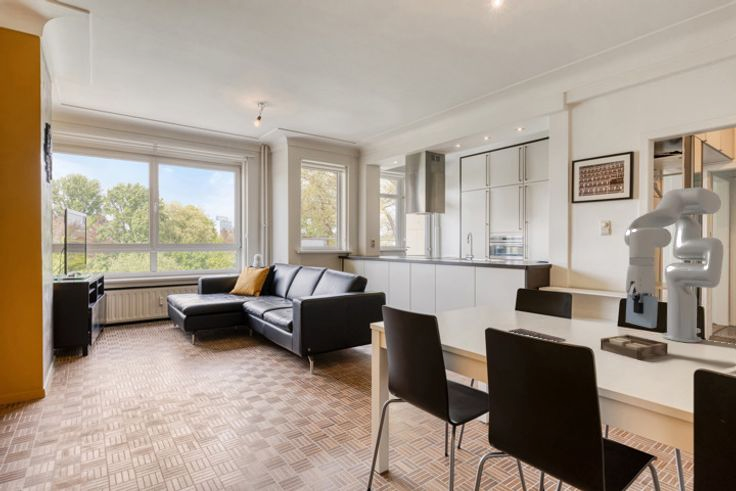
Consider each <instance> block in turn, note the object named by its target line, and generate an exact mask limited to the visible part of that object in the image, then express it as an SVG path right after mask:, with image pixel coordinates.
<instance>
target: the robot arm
mask: <svg viewBox="0 0 736 491" xmlns="http://www.w3.org/2000/svg"><path fill="white" fill-rule="evenodd" d="M721 201H722V200H721V198H720V196H719V194H717V193H716V192H714V191H712V190H710V189H708V188H704V187H699V186H698V187H688V188H677V189H672V190H668V191H667V192H665V193H664V195H663V196H662V197H661V199H660V200H659V202H658V203H657V205H656V206H655V208H654V209H653V210H651V211H649V212H646V213H644V214H643V215H640V216H638V217H637V218H635V219H634V220H633V221H631V223H630V225H628V228H627V229H626V230H625V233H624V238H623V239H624V242H625V244H626V245H627V246H628V247H629V248H628V249H629V250H628V251H629V252H628V254H629V255H628V256H629V258H628V260H629V261H628V262H629V264H628V268H627V272H626V282H625V292H626V293H629V294H628V295H629V296H630V297H631V298H632V301H633V312H634V313H639V314H643V303H642V296H643V294H644V295H650V296H654V295H655V292H656V286H657V285H656V282H657V281H656V271H655V266H656V265H655V263H656V262H655V261H656V260H655V249H661V248H662V249H663V248H666V247H668V246H669V245H670V243H671V242H672V234H671V232H670V231H669V229H667V228H666V227H670V226H672V225H675V226H674V227H675V229H674V230H675V232H674V237H673V238H674V239H673V245H672V255H673V257H674V258H675V259H677V260H681V261H691V262H672V263H669V264H668V265H666V266H665V269H664V277H665V281H666V282H665V283H666V290H667V293H666V294H667V296H666V297H667V299H666V300H667V301H666V302H667V303H666V306H667V310H666V311H667V312H666V313H667V314H666V332H663V333H662V338H664V339H666V340H670V341H675V342H681V343H692V344H693V343H696V344H697V343H701V342H702V338H701V337H700V336H698V335H697V334H699V333H701V331H702V330H701V329H700V328H699V327H698V328H697V325H698V324H697V321H698V320H697V319H698V318H697V317H698V314H697V313H698V310H697V309H698V298H697V295H696V293H695V292H694V291H693V290H692V288H694V287H695V288H705V289H712V288H716V287H718V285H720V282H721V279H722V278H721V277H722V268H723V261H724V245H723V242H722V241H721V240H720V239H718V238H716V237H702V228H703V226H702V225H701V223H700V222H699V221H698V220H697V219H696V218H694V217H693V216H696V215H697V216H699V215H713V214H716V213H718V211H719V210H720V209H721V207H722V206H721V205H722V202H721ZM692 261H693V262H692ZM695 262H696V263H695ZM697 262H698V263H697ZM700 262H705V263H700ZM691 287H692V288H691ZM637 295H639V297H638V296H637Z"/></svg>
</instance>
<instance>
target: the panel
mask: <svg viewBox="0 0 736 491" xmlns="http://www.w3.org/2000/svg"><path fill="white" fill-rule="evenodd" d="M628 294H629V293H628V292H626V308H625V323H628V324H632V325H636V326H640V327H644V328H647V329H655V328H657V324H658V323H657V321H658V306H659V305H658V304H659V303H658V302H659V297H658V296H655V295H652V296H650V295H645V294H643V296H642V303H643V314H639V313H634V312H633V301H632V298H631V297H630V296H629V295H628ZM637 296H638V297H639V295H637Z"/></svg>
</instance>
